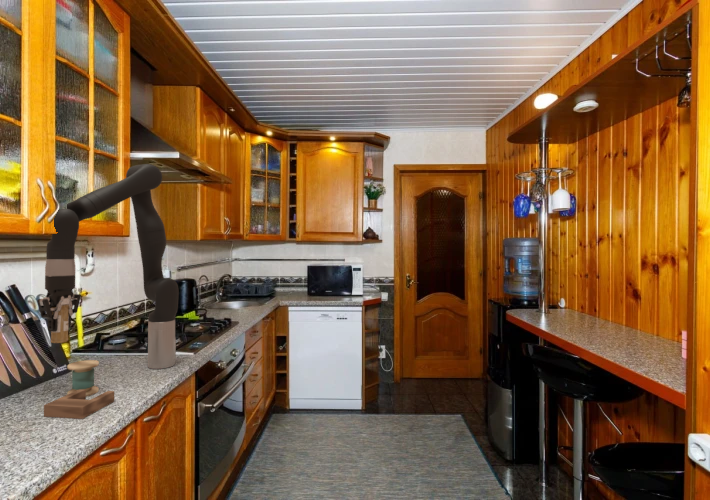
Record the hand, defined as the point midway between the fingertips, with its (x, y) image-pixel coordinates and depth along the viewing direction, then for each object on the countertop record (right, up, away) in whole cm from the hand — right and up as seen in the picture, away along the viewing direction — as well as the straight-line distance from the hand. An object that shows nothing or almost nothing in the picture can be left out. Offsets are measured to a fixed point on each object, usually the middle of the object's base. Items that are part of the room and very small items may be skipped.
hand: (59, 329), depth 124 cm
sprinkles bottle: (0, -4, 0) cm, 4 cm away
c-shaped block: (+15, -20, -12) cm, 27 cm away
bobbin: (+7, -19, 0) cm, 21 cm away
